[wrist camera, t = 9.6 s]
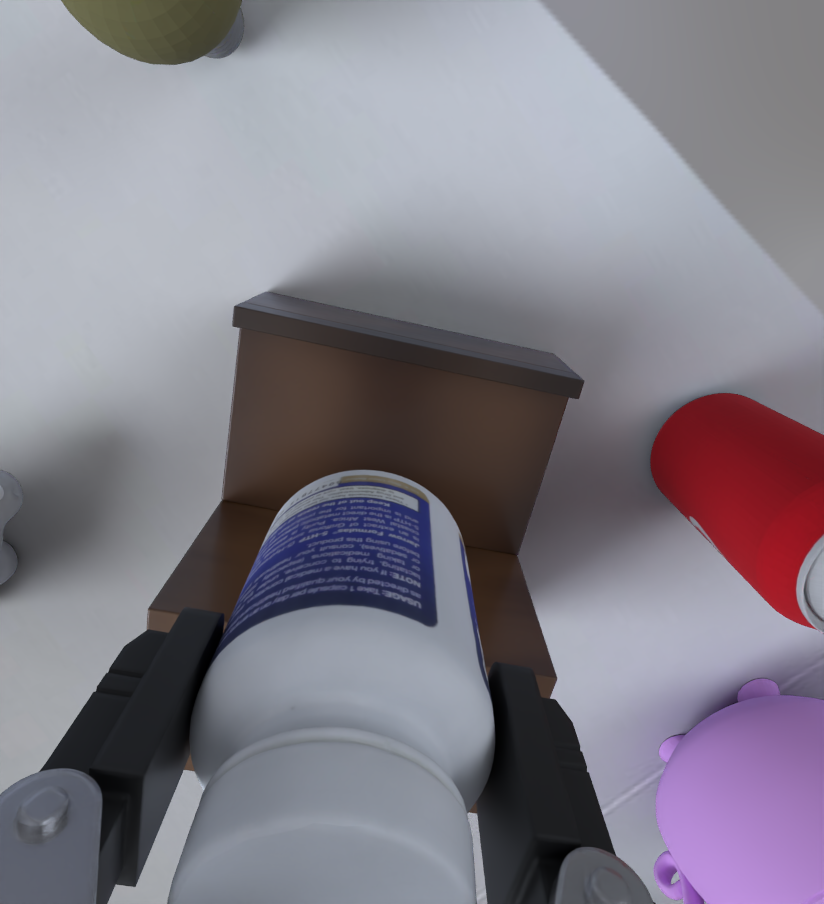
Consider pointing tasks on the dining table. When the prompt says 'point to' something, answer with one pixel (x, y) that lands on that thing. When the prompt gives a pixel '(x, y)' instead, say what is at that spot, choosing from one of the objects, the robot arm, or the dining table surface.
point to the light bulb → (163, 27)
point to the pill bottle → (344, 710)
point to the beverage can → (751, 495)
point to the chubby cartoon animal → (3, 502)
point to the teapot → (745, 803)
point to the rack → (383, 450)
